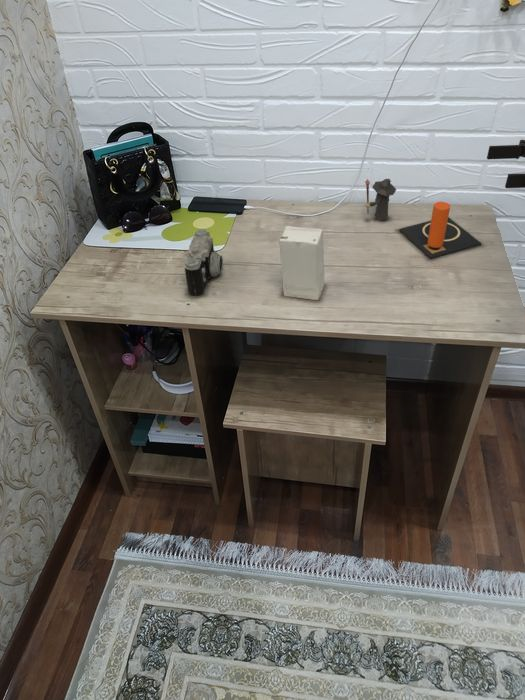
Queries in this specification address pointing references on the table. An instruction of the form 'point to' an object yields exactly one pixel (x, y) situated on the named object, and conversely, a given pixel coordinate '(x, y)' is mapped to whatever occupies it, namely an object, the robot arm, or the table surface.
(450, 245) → the black square board
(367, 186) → the wizard figurine
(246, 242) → the table surface
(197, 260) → the camera
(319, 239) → the cosmetic box
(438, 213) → the cylinder
